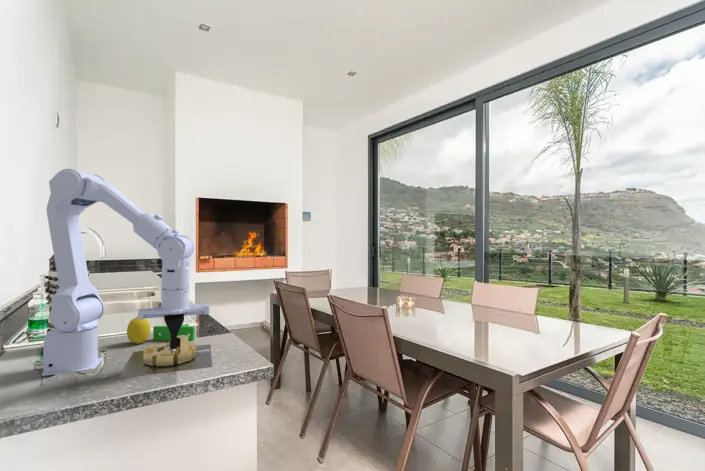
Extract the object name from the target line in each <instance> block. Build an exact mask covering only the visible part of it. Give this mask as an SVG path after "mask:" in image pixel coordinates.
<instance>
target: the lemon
mask: <svg viewBox="0 0 705 471" xmlns="http://www.w3.org/2000/svg"><path fill="white" fill-rule="evenodd" d="M150 334H151V325H150V322H149V320H148V318H145V319H141V320H138V315H137V316H136V317H134V318H132V319H131V320H130V321H129V322H128V325H127V329H126V336H127V338H128V340H129V342H131V343H133V344H136V345H139V344H142V343H144V342H146V341H147V340H148V339H149V337H150Z"/></svg>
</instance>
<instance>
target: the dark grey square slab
mask: <svg viewBox="0 0 705 471" xmlns="http://www.w3.org/2000/svg"><path fill="white" fill-rule="evenodd" d="M164 350H170V346H166V347H164ZM171 350H172V349H171ZM144 351H145V350H138V351H133V353H132V355H131V356H130V358H129V360H128V361H127V362H126V365H125V367H124V368H123V370H122V372H121V374H120V375H119V377H118V379H122V378H124V379H125V378H131V377H132V378H133V377H139V376H140V377H141V376H149V375H157V374H166V373H175V372H183V371H189V370H191V371H192V370H199V369H200V370H201V369H206V368H207V369H208V368H212V367H213V362H212V361H213V359H212V348H211V344H210V343H209V344H200V345H199V344H197V354H196V356H195V358H194V359H192V360H190V361H187V362H184V363H180V364H176V363H174V365H168V366H156V365H154V366H151V365H148V364H145V363H144V362H143V352H144ZM173 352H175V349H173Z"/></svg>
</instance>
